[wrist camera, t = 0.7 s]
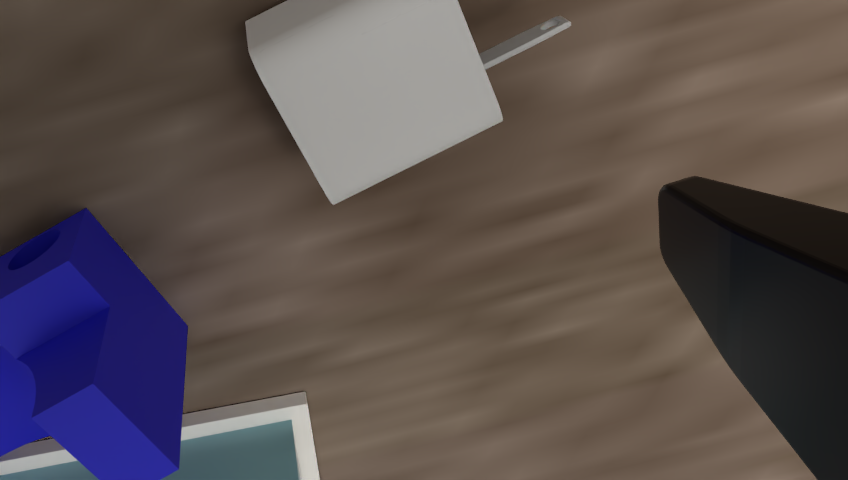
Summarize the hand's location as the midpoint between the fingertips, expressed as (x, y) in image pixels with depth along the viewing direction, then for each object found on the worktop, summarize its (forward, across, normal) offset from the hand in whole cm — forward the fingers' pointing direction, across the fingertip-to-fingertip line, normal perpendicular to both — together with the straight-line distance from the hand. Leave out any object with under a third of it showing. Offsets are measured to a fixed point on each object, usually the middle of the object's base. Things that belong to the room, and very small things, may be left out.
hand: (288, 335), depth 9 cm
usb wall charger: (+13, -4, +1) cm, 14 cm away
